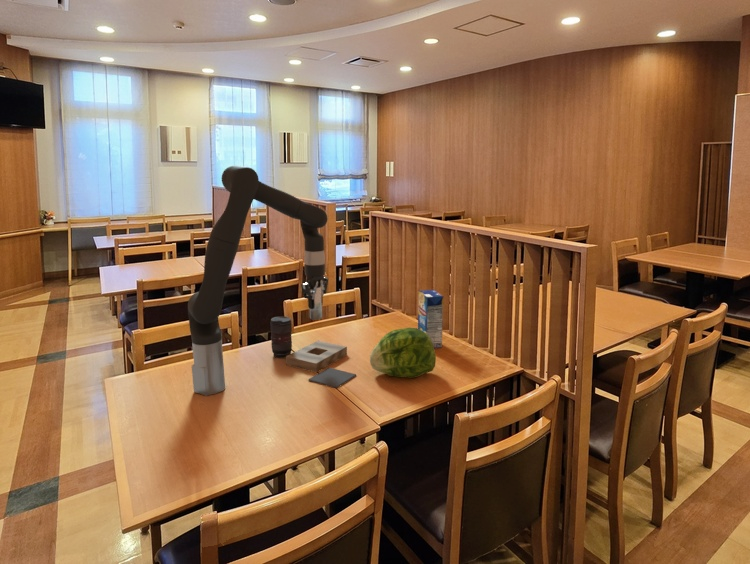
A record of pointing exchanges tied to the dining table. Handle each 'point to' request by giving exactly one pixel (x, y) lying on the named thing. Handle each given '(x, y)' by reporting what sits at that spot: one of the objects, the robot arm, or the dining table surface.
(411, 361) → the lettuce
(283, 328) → the camera lens
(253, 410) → the dining table surface
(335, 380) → the mat
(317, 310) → the canister
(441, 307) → the beverage box
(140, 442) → the dining table surface
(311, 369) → the holder
